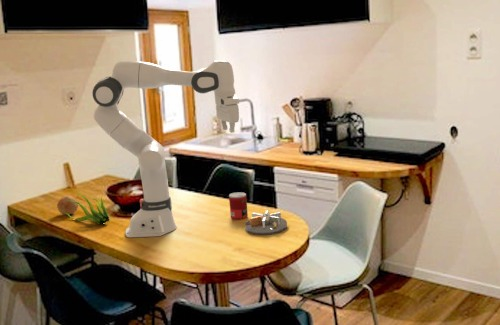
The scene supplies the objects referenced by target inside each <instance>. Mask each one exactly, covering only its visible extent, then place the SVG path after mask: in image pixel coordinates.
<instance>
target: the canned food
mask: <svg viewBox="0 0 500 325" xmlns="http://www.w3.org/2000/svg"><path fill="white" fill-rule="evenodd" d="M228 200H229V210H230V218H231V220H232V219H233V220H234V221H236V220H237V221H239V220H244V219H247V217H248V215H249V214H248V201H247V200H248V199H247V193H245V192H242V191H241V192H238V191H237V192H232V193H229V195H228Z"/></svg>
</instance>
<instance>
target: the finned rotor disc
mask: <svg viewBox="0 0 500 325" xmlns="http://www.w3.org/2000/svg"><path fill="white" fill-rule="evenodd" d="M281 218H282V213H281V211H279V212H273V213H270V212H269V210H268V209H267V210H266V209H265V213H257V212H252V213H251V217H250V218H249V220H250V226H255V225H260V224H263V228H266V225H268V224H272V225H274V223H276V225H278V226H279V225H280V220H281Z"/></svg>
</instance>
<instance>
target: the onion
mask: <svg viewBox="0 0 500 325" xmlns="http://www.w3.org/2000/svg"><path fill="white" fill-rule="evenodd" d="M64 199H65V200H64ZM67 200H69V201H67ZM70 201H74V202H78V201H77V200H76V198H75V197H73V196H72V195H69V194H65V195H64V196H62V197H61V198H60V199H59V200H58V201H57V204H56V206H57V207H56V208H57V210H58V212H59V213H60V214H61V213H62V214H61V215H64V216H68V215H67V214H66V213H68V214H69V215H70V214H71V215H73V214H74V213H75V212H76V211H77V210H78V207H79V204H77V203H73V202H70ZM71 215H70V216H71Z"/></svg>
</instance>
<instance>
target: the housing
mask: <svg viewBox="0 0 500 325" xmlns="http://www.w3.org/2000/svg"><path fill="white" fill-rule="evenodd" d="M287 228H288V221H287V220H286V219H285V218H282V217H281V220H280V225H279V226H278V225H276V223H274V225H272V224H268V225H266V228H263V224H260V225H255V226H250V219H249V220H247V221H246V222H245V228H244V229H245V231H246V232H247V233H249V234H251V235H257V236H269V235H270V236H272V235H276V234H280V233H282V232H285V230H287Z"/></svg>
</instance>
